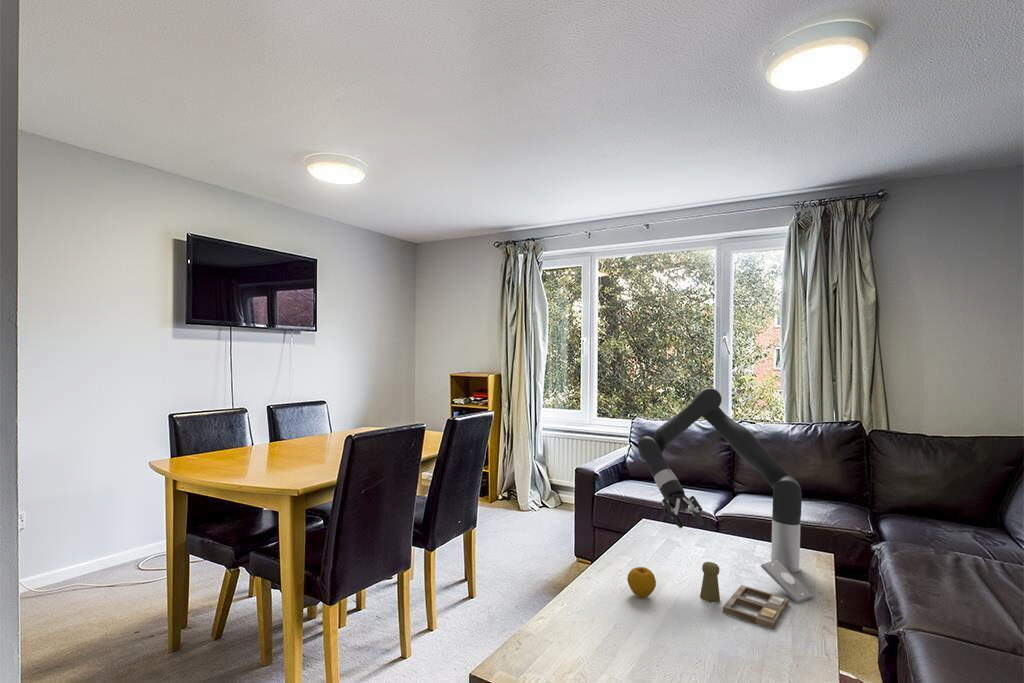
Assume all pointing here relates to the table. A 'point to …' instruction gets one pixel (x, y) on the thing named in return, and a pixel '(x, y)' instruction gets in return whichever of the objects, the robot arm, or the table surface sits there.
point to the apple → (641, 581)
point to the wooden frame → (757, 606)
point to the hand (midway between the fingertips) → (692, 525)
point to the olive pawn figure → (710, 582)
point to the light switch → (787, 581)
